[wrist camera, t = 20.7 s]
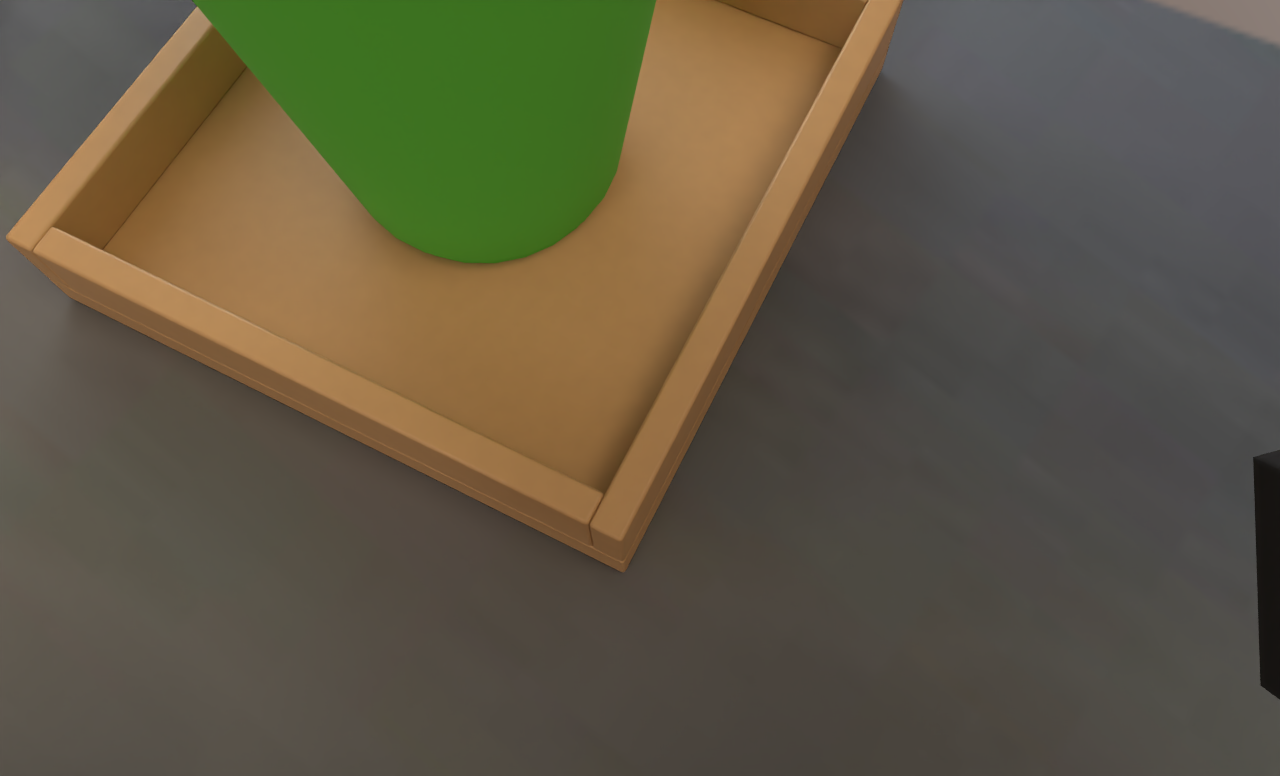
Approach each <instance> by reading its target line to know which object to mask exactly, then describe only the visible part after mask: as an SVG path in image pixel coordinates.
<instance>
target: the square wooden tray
mask: <svg viewBox="0 0 1280 776" xmlns="http://www.w3.org/2000/svg"><path fill="white" fill-rule="evenodd" d="M902 3H903V0H656V4H655V8H654V13H653V17H652V21H651V26H650V30H649V34H648V39H647V43H646V47H645V52H644V56H643V60H642V65H641V69H640V73H639V78H638V82H637V86H636V91H635V95H634V99H633V104H632V108H631V112H630V117H629V121H628V125H627V130H626V134H625V138H624V143H623V147H622V151H621V156H620V160H619V164H618V169H617V172H616V174H615V176H614V178H613V180H612V182H611V185H610V187H609V189H608V191H607V193H606V195H605V197H604V198H603V200H602V201H601V202H600V203H599V204H598V206H597V207H596V208H595V209H594V210H593V211H592V213H591V214H590V215H589V216H588V217H587V218H586V220H585V221H584V222H582V223H581V224H580V225H579V226H578V227H577V228H576V229H575V230H574V231H572V232H571V233H569V234H568V235H567V236H565V237H564V238H563V239H561V240H560V241H558V242H557V243H556V244H554V245H553V246H550V247H548V248H546V249H543V250H541V251H539V252H536V253H534V254H532V255H530V256H527V257H524V258H519V259H514V260H509V261H504V262H499V263H463V262H459V261H454V260H450V259H446V258H442V257H438V256H434V255H432V254H428V253H425V252H423V251H421V250H419V249H417V248H415V247H413V246H411V245H409V244H407V243H405V242H403V241H401V240H399V239H397V238H395V237H394V236H393V235H392V234H391V233H390V232H389V231H388V230H386V229H385V228H384V227H383V226H382V225H381V224H380V223H378V222H377V221H376V220H375V219H374V218H373V217H372V216H371V215H370V213H369V212H368V211H367V210H366V209H365V207H364V206H363V205H362V204H361V203H360V201H359V200H358V199H357V198H356V197H355V195H354V194H353V193H352V192H351V191H350V189H349V188H348V187H347V186H346V185H345V183H344V182H343V181H342V180H341V179H340V177H339V176H338V175H337V174H336V173H335V171H334V170H333V169H332V168H331V167H330V165H329V164H328V163H327V162H326V161H325V159H324V158H323V157H322V156H321V155H320V153H319V152H318V151H317V150H316V149H315V147H314V146H313V145H312V144H311V143H310V141H309V140H308V139H307V138H306V137H305V135H304V134H303V133H302V132H301V130H300V129H299V128H298V127H297V126H296V124H295V123H294V122H293V121H292V120H291V118H290V117H289V116H288V115H287V114H286V112H285V111H284V110H283V109H282V108H281V106H280V105H279V104H278V103H277V102H276V100H275V99H274V98H273V97H272V96H271V94H270V93H269V92H268V91H267V90H266V88H265V87H264V86H263V85H262V84H261V82H260V81H259V80H258V79H257V78H256V76H255V75H254V74H253V73H252V72H251V70H250V69H249V68H248V67H247V66H246V64H245V63H244V62H243V61H242V60H241V58H240V57H239V56H238V55H237V54H236V52H235V51H234V50H233V49H232V48H231V46H230V45H229V44H228V43H227V42H226V40H225V39H224V38H223V37H222V36H221V34H220V33H219V32H218V31H217V30H216V28H215V27H214V26H213V25H212V23H211V22H210V21H209V20H208V19H207V17H206V16H205V15H204V14H203V13H202V11H201V10H200V9H199V8H198V7H196V8H195V9H194V11H193V12H192V13H191V14H190V15H189V17H188V18H187V19H186V20H185V21H184V23H183V24H182V25H181V26H180V28H179V29H178V30H177V31H176V32H175V34H174V35H173V36H172V37H171V38H170V40H169V41H168V42H167V43H166V44H165V46H164V47H163V48H162V49H161V50H160V52H159V53H158V54H157V55H156V56H155V58H154V59H153V60H152V61H151V62H150V64H149V65H148V66H147V67H146V68H145V70H144V71H143V72H142V73H141V74H140V76H139V77H138V78H137V79H136V80H135V82H134V83H133V84H132V85H131V86H130V88H129V89H128V90H127V91H126V92H125V94H124V95H123V96H122V97H121V98H120V100H119V101H118V102H117V103H116V104H115V106H114V107H113V108H112V109H111V110H110V112H109V113H108V114H107V115H106V117H105V118H104V119H103V120H102V121H101V123H100V124H99V125H98V126H97V127H96V129H95V130H94V131H93V132H92V133H91V135H90V136H89V137H88V138H87V139H86V141H85V142H84V143H83V144H82V145H81V147H80V148H79V149H78V150H77V151H76V153H75V154H74V155H73V156H72V157H71V159H70V160H69V161H68V162H67V163H66V165H65V166H64V167H63V168H62V169H61V171H60V172H59V173H58V174H57V175H56V177H55V178H54V179H53V180H52V181H51V183H50V184H49V185H48V186H47V187H46V189H45V190H44V191H43V192H42V193H41V195H40V196H39V197H38V198H37V199H36V201H35V202H34V203H33V204H32V205H31V207H30V208H29V209H28V210H27V212H26V213H25V214H24V215H23V216H22V218H21V219H20V220H19V221H18V222H17V224H16V225H15V226H14V227H13V228H12V230H11V231H10V232H9V233H8V234H7V236H6V239H7V240H8V242H9V243H11V244H12V245H13V246H14V247H15V248H16V249H17V250H18V251H19V252H21V253H22V254H23V255H24V256H25V257H26V258H27V259H28V260H29V261H30V262H32V263H33V264H34V265H35V266H36V267H37V268H38V269H39V270H40V271H42V272H43V273H44V274H45V275H46V276H47V277H48V278H50V280H51V281H52V282H53V283H54V284H56V285H57V286H58V287H59V288H60V289H61V290H62V291H63V292H64V293H65V294H67V295H68V296H69V297H70V298H72V299H74V300H76V301H78V302H80V303H82V304H84V305H86V306H88V307H90V308H92V309H94V310H96V311H98V312H100V313H102V314H104V315H106V316H108V317H110V318H112V319H114V320H116V321H118V322H120V323H122V324H124V325H126V326H128V327H130V328H133V329H135V330H137V331H139V332H141V333H143V334H145V335H147V336H149V337H151V338H153V339H155V340H157V341H159V342H161V343H163V344H165V345H167V346H169V347H171V348H173V349H175V350H177V351H179V352H181V353H183V354H185V355H187V356H189V357H191V358H193V359H195V360H197V361H199V362H201V363H203V364H205V365H207V366H209V367H211V368H213V369H215V370H217V371H219V372H221V373H223V374H225V375H227V376H229V377H231V378H233V379H235V380H237V381H239V382H241V383H243V384H245V385H247V386H249V387H251V388H253V389H255V390H257V391H259V392H261V393H263V394H265V395H267V396H269V397H271V398H273V399H275V400H277V401H279V402H281V403H283V404H285V405H287V406H289V407H291V408H293V409H295V410H297V411H299V412H301V413H303V414H305V415H307V416H309V417H311V418H313V419H315V420H317V421H319V422H321V423H323V424H325V425H327V426H329V427H331V428H333V429H335V430H337V431H339V432H341V433H343V434H345V435H347V436H349V437H351V438H353V439H355V440H357V441H359V442H361V443H363V444H365V445H367V446H369V447H371V448H373V449H375V450H377V451H379V452H381V453H383V454H386V455H388V456H390V457H392V458H394V459H396V460H398V461H400V462H402V463H404V464H406V465H408V466H410V467H412V468H414V469H416V470H418V471H420V472H422V473H424V474H426V475H428V476H430V477H432V478H434V479H436V480H438V481H440V482H442V483H444V484H446V485H448V486H450V487H452V488H454V489H456V490H458V491H460V492H462V493H464V494H466V495H468V496H470V497H472V498H474V499H476V500H478V501H480V502H482V503H484V504H486V505H488V506H490V507H492V508H494V509H496V510H498V511H500V512H502V513H504V514H506V515H508V516H510V517H512V518H514V519H516V520H518V521H520V522H522V523H524V524H526V525H528V526H530V527H532V528H534V529H536V530H538V531H540V532H542V533H544V534H546V535H548V536H550V537H552V538H554V539H556V540H558V541H560V542H562V543H564V544H566V545H568V546H570V547H572V548H574V549H576V550H578V551H580V552H582V553H584V554H586V555H588V556H590V557H592V558H594V559H596V560H598V561H600V562H602V563H604V564H606V565H608V566H610V567H612V568H614V569H616V570H618V571H620V572H625V571H626V569H627V567H628V565H629V563H630V561H631V559H632V557H633V555H634V553H635V551H636V549H637V547H638V545H639V544H640V542H641V540H642V538H643V536H644V534H645V532H646V530H647V528H648V526H649V524H650V522H651V520H652V518H653V516H654V514H655V512H656V510H657V508H658V506H659V504H660V502H661V500H662V498H663V497H664V495H665V493H666V491H667V489H668V487H669V485H670V483H671V481H672V479H673V477H674V475H675V473H676V471H677V469H678V467H679V465H680V463H681V461H682V459H683V457H684V455H685V453H686V452H687V450H688V448H689V446H690V444H691V442H692V440H693V438H694V436H695V434H696V432H697V430H698V428H699V426H700V424H701V422H702V420H703V418H704V416H705V414H706V412H707V410H708V408H709V406H710V405H711V403H712V401H713V399H714V397H715V395H716V393H717V391H718V389H719V387H720V385H721V383H722V381H723V379H724V377H725V375H726V373H727V371H728V369H729V367H730V365H731V363H732V361H733V359H734V358H735V356H736V354H737V352H738V350H739V348H740V346H741V344H742V342H743V340H744V338H745V336H746V334H747V332H748V330H749V328H750V326H751V324H752V322H753V320H754V318H755V316H756V314H757V312H758V311H759V309H760V307H761V305H762V303H763V301H764V299H765V297H766V295H767V293H768V291H769V289H770V287H771V285H772V283H773V281H774V279H775V277H776V275H777V273H778V271H779V269H780V267H781V265H782V264H783V262H784V260H785V258H786V256H787V254H788V252H789V250H790V248H791V246H792V244H793V242H794V240H795V238H796V236H797V234H798V232H799V230H800V228H801V226H802V224H803V222H804V220H805V218H806V217H807V215H808V213H809V211H810V209H811V207H812V205H813V203H814V201H815V199H816V197H817V195H818V193H819V191H820V189H821V187H822V185H823V183H824V181H825V179H826V177H827V175H828V173H829V171H830V170H831V168H832V166H833V164H834V162H835V160H836V158H837V156H838V154H839V152H840V150H841V148H842V146H843V144H844V142H845V140H846V138H847V136H848V134H849V132H850V130H851V128H852V126H853V124H854V123H855V121H856V119H857V117H858V115H859V113H860V111H861V109H862V107H863V105H864V103H865V101H866V99H867V97H868V95H869V93H870V91H871V89H872V87H873V85H874V83H875V81H876V79H877V78H878V76H879V74H880V72H881V70H882V67H883V64H884V61H885V57H886V54H887V51H888V48H889V44H890V41H891V38H892V35H893V32H894V28H895V25H896V22H897V19H898V16H899V13H900V9H901V6H902Z"/></svg>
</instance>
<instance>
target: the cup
mask: <svg viewBox="0 0 1280 776" xmlns="http://www.w3.org/2000/svg"><path fill="white" fill-rule="evenodd" d="M192 1H193V2H194V3H195V4H196V5H197V7H198V8H199V9H200V10H201V11H202V13H203V14H204V15H205V16H206V17H207V19H208V20H209V21H210V22H211V23H212V25H213V26H214V27H215V28H216V30H217V31H218V32H219V33H220V34H221V36H222V37H223V38H224V39H225V40H226V42H227V43H228V44H229V45H230V46H231V48H232V49H233V50H234V51H235V52H236V54H237V55H238V56H239V57H240V58H241V60H242V61H243V62H244V63H245V64H246V66H247V67H248V68H249V69H250V70H251V72H252V73H253V74H254V75H255V76H256V78H257V79H258V80H259V81H260V82H261V84H262V85H263V86H264V87H265V88H266V90H267V91H268V92H269V93H270V94H271V96H272V97H273V98H274V99H275V100H276V102H277V103H278V104H279V105H280V106H281V108H282V109H283V110H284V111H285V112H286V114H287V115H288V116H289V117H290V118H291V120H292V121H293V122H294V123H295V124H296V126H297V127H298V128H299V129H300V130H301V132H302V133H303V134H304V135H305V137H306V138H307V139H308V140H309V141H310V143H311V144H312V145H313V146H314V147H315V149H316V150H317V151H318V152H319V153H320V155H321V156H322V157H323V158H324V159H325V161H326V162H327V163H328V164H329V165H330V167H331V168H332V169H333V170H334V171H335V173H336V174H337V175H338V176H339V177H340V179H341V180H342V181H343V182H344V183H345V185H346V186H347V187H348V188H349V189H350V191H351V192H352V193H353V194H354V195H355V197H356V198H357V199H358V200H359V201H360V203H361V204H362V205H363V206H364V207H365V209H366V210H367V211H368V212H369V213H370V215H371V216H372V217H373V218H374V219H375V220H376V221H377V222H378V223H380V224H381V225H382V226H383V227H384V228H385V229H386V230H388V231H389V232H390V233H391V234H392V235H393V236H394V237H395V238H397V239H399V240H401V241H403V242H405V243H407V244H409V245H411V246H413V247H415V248H417V249H419V250H421V251H423V252H425V253H428V254H432V255H434V256H438V257H442V258H446V259H450V260H454V261H459V262H463V263H499V262H504V261H509V260H514V259H519V258H524V257H527V256H530V255H532V254H534V253H536V252H539V251H541V250H543V249H546V248H548V247H550V246H553V245H554V244H556V243H557V242H558V241H560V240H561V239H563V238H564V237H565V236H567V235H568V234H569V233H571V232H572V231H574V230H575V229H576V228H577V227H578V226H579V225H580V224H581V223H582V222H584V221H585V220H586V218H587V217H588V216H589V215H590V214H591V213H592V211H593V210H594V209H595V208H596V207H597V206H598V204H599V203H600V202H601V201H602V200H603V198H604V197H605V195H606V193H607V191H608V189H609V187H610V185H611V182H612V180H613V178H614V176H615V174H616V172H617V169H618V164H619V160H620V156H621V151H622V147H623V143H624V138H625V134H626V130H627V125H628V121H629V117H630V112H631V108H632V104H633V99H634V95H635V91H636V86H637V82H638V78H639V73H640V69H641V65H642V60H643V56H644V52H645V47H646V43H647V39H648V34H649V30H650V26H651V21H652V17H653V13H654V8H655V4H656V0H192Z"/></svg>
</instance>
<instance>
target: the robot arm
mask: <svg viewBox="0 0 1280 776" xmlns="http://www.w3.org/2000/svg"><path fill="white" fill-rule="evenodd" d="M1253 463H1254V494H1255V525H1256V556H1257V587H1258V619H1259V650H1260V681H1261V686H1262V687H1264V688H1265V689H1266V690H1268V691H1269V692H1270V693H1272V694H1273V695H1274V696H1276V697H1277V698H1278V699H1280V450H1278V451H1274V452H1270V453H1267V454H1263V455H1260V456H1256V457H1253Z"/></svg>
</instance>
